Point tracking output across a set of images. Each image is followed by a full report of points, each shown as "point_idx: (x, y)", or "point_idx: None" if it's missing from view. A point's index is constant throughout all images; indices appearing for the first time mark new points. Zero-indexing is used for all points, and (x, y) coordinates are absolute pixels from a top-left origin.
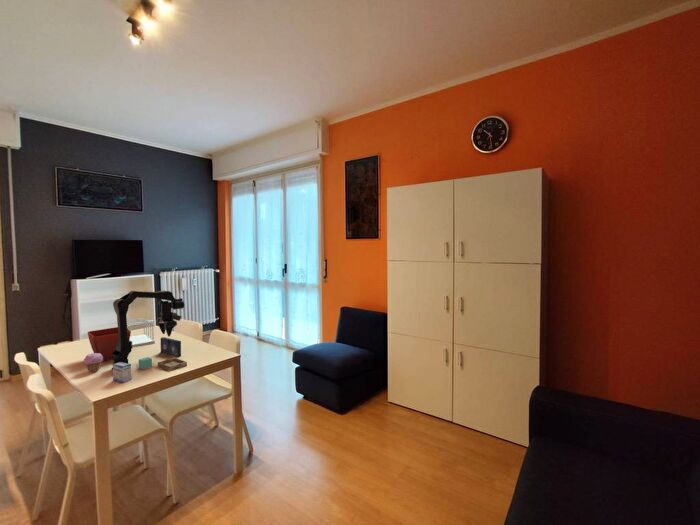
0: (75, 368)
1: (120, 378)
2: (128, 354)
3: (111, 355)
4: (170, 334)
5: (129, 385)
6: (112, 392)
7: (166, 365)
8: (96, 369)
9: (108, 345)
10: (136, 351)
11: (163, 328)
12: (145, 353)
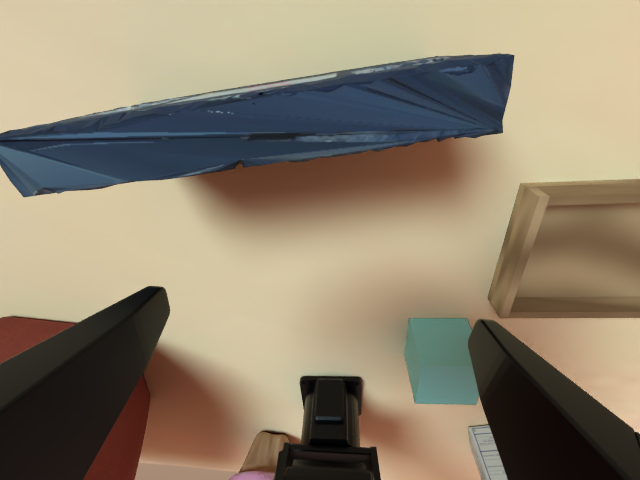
0: (185, 451)
1: None
2: (378, 468)
3: (134, 398)
4: (529, 352)
5: None
6: None
7: (634, 316)
8: None
9: None
10: (5, 244)
11: (69, 422)
12: (103, 227)
